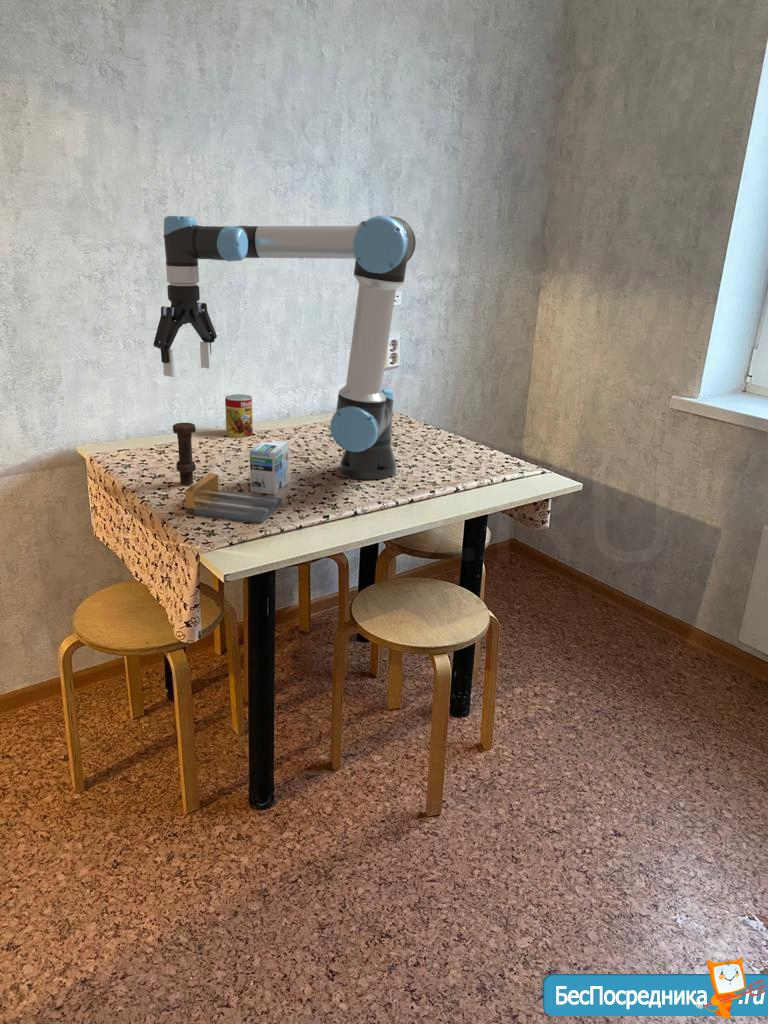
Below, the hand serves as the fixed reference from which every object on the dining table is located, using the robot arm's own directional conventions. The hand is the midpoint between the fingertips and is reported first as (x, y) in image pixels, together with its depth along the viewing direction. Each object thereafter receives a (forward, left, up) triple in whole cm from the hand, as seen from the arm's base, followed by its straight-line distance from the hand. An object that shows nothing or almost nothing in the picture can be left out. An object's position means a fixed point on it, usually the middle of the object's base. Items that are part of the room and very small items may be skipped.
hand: (188, 371), depth 194 cm
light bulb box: (-24, +6, -26) cm, 36 cm away
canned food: (+1, -34, -26) cm, 42 cm away
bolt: (-4, +11, -26) cm, 28 cm away
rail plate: (-22, +23, -26) cm, 41 cm away
